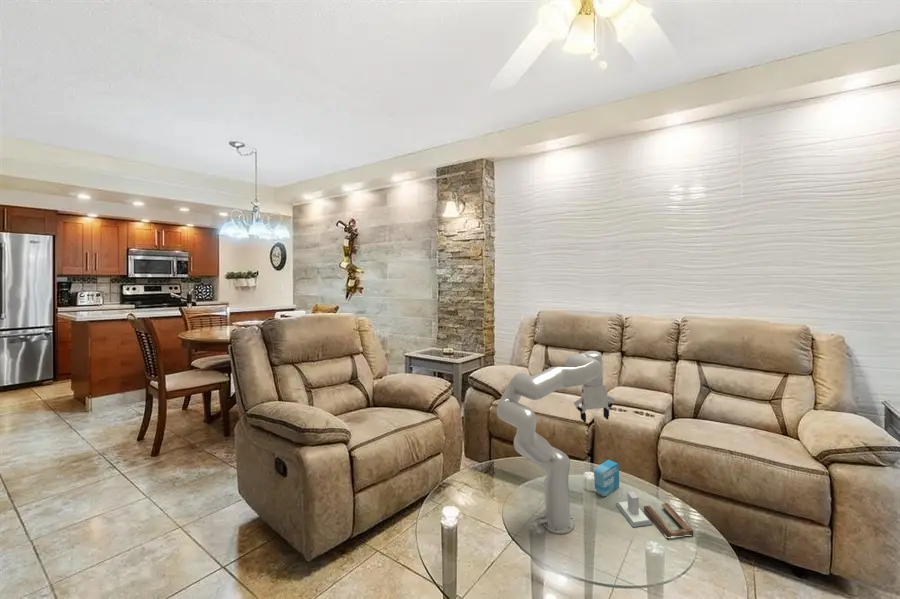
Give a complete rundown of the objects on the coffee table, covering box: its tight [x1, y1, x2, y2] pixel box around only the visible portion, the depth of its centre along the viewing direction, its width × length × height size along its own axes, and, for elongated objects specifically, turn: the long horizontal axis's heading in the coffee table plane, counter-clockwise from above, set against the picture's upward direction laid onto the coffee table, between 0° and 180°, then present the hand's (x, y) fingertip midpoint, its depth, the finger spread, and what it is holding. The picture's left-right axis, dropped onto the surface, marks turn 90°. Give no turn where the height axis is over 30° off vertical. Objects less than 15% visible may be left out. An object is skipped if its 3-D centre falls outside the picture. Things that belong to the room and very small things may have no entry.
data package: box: [593, 459, 620, 498], centre depth 181 cm, size 12×4×12 cm, turn 124°
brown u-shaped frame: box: [643, 502, 694, 537], centre depth 159 cm, size 10×16×2 cm, turn 4°
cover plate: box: [618, 491, 650, 524], centre depth 165 cm, size 6×12×8 cm, turn 4°
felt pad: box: [615, 502, 654, 529], centre depth 165 cm, size 8×14×1 cm, turn 4°
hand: (594, 419), depth 172 cm, fingers open, 9 cm apart
